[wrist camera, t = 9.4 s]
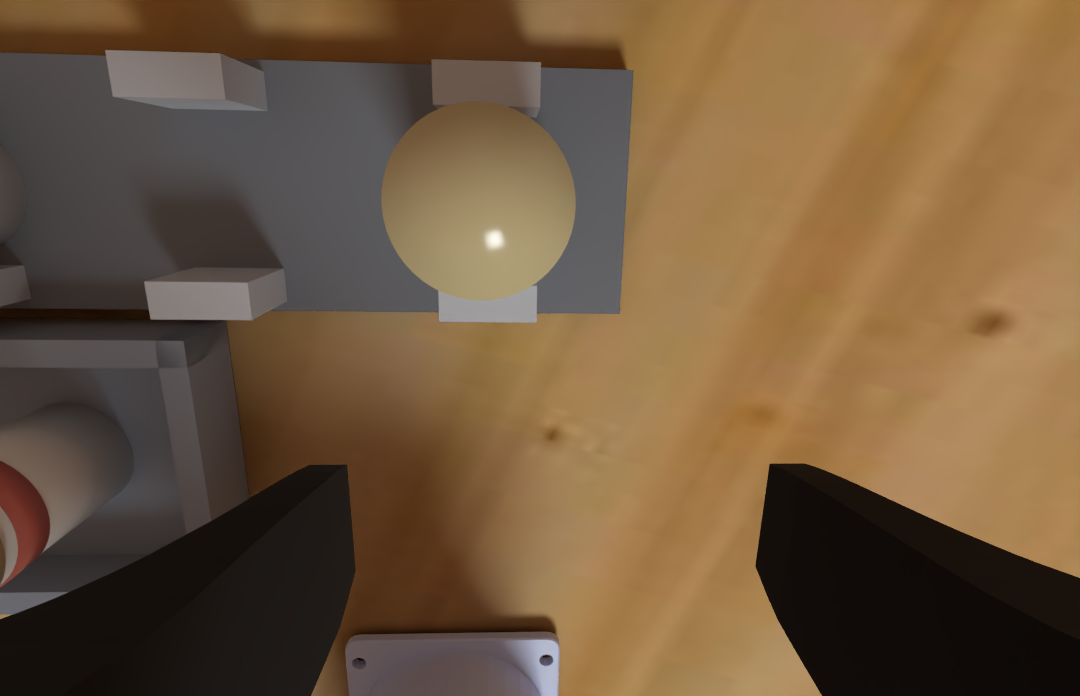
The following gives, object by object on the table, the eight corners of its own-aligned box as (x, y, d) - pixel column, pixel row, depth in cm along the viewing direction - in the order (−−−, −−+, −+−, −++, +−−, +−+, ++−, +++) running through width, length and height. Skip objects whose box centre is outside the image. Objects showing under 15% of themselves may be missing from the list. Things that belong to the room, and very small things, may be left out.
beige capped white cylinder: (554, 261, 18) (572, 301, 12) (428, 260, 18) (386, 299, 12) (557, 128, 17) (579, 103, 11) (423, 125, 17) (375, 98, 11)
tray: (257, 562, 21) (225, 611, 19) (-31, 565, 21) (-102, 615, 18) (225, 319, 19) (183, 340, 16) (-103, 317, 18) (-196, 338, 16)
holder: (615, 308, 19) (635, 334, 16) (-125, 301, 18) (-259, 327, 15) (628, 74, 17) (653, 51, 14) (-199, 52, 16) (-372, 21, 13)
